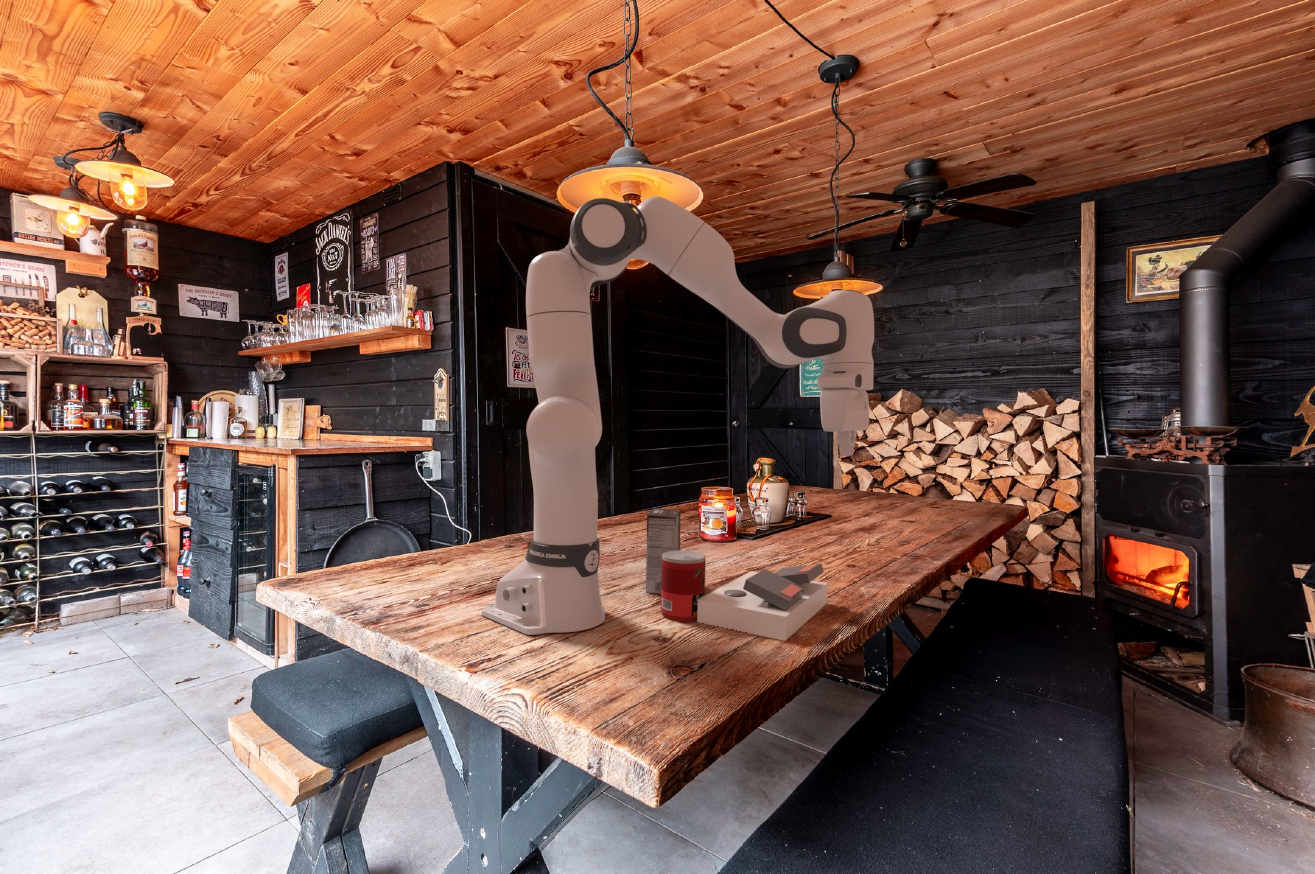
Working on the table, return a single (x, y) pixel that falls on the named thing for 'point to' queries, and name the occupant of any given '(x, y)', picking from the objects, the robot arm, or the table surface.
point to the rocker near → (774, 589)
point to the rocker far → (801, 573)
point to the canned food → (682, 584)
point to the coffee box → (660, 543)
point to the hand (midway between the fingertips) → (846, 455)
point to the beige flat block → (759, 609)
